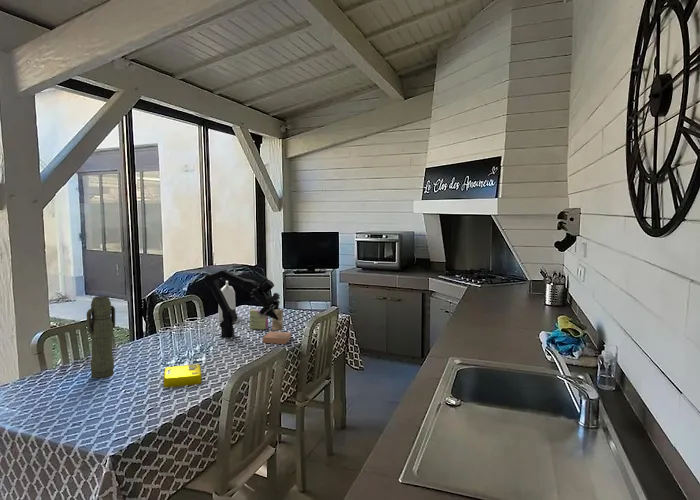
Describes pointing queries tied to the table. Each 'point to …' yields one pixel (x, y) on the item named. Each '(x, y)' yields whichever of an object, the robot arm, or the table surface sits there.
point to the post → (278, 323)
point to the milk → (227, 299)
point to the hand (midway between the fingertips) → (279, 318)
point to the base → (277, 337)
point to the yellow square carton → (182, 375)
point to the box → (258, 319)
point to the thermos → (101, 336)
